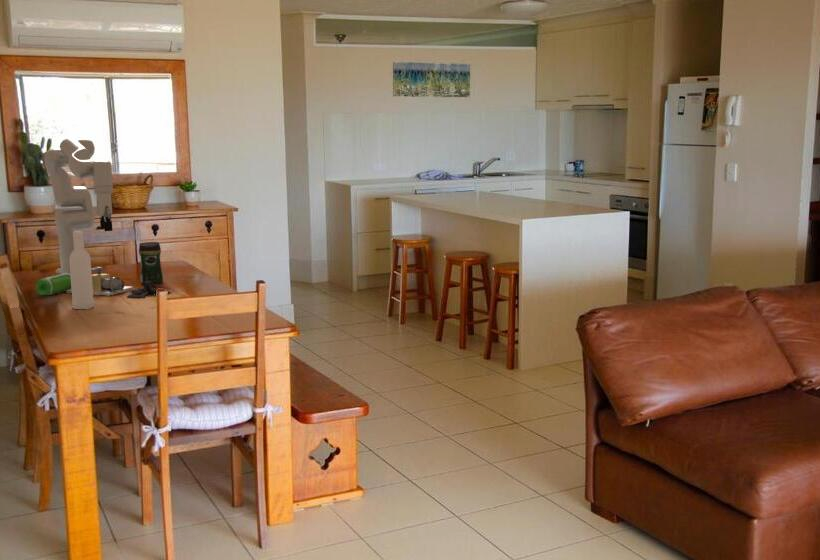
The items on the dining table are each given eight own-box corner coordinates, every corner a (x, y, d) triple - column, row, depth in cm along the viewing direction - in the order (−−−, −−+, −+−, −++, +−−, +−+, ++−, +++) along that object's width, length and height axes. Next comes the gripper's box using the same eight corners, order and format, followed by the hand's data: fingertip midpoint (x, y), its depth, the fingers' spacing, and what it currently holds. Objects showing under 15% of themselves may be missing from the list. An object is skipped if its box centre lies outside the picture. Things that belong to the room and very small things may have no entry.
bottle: (68, 308, 342) (62, 232, 337) (85, 305, 349) (80, 229, 344) (81, 310, 338) (75, 233, 333) (98, 307, 344) (93, 231, 339)
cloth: (126, 301, 359) (125, 286, 358) (123, 293, 376) (122, 279, 375) (182, 297, 367) (181, 282, 366) (176, 289, 384) (176, 275, 383)
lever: (98, 273, 379) (97, 266, 378) (105, 273, 378) (104, 266, 377) (75, 278, 365) (74, 271, 365) (82, 279, 364) (81, 272, 364)
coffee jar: (162, 280, 402) (160, 240, 399) (163, 283, 395) (161, 242, 392) (140, 282, 399) (138, 241, 396) (140, 285, 392) (138, 243, 389)
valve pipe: (66, 293, 374) (65, 276, 373) (91, 286, 389) (90, 270, 388) (110, 296, 366) (109, 279, 365) (134, 289, 381) (133, 273, 380)
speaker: (63, 288, 385) (62, 271, 384) (77, 289, 383) (76, 272, 382) (35, 296, 369) (34, 278, 368) (50, 297, 367) (48, 279, 366)
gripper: (91, 189, 381) (94, 228, 384) (97, 191, 366) (100, 232, 368) (109, 188, 384) (112, 227, 387) (116, 190, 369) (119, 231, 372)
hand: (106, 229), depth 378 cm, fingers open, 9 cm apart
